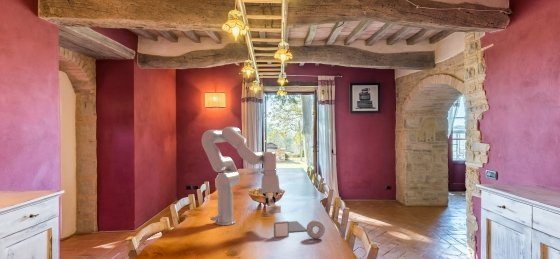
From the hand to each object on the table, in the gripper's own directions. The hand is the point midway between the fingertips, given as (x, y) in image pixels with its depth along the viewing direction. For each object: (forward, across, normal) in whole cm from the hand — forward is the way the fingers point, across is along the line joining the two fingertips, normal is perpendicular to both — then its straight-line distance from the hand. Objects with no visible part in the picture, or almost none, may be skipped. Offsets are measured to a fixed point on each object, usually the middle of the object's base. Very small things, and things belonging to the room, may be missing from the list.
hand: (270, 203), depth 197 cm
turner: (+2, 0, 0) cm, 2 cm away
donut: (+16, +20, -23) cm, 34 cm away
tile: (+15, +2, -15) cm, 22 cm away
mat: (+15, +13, +1) cm, 20 cm away
